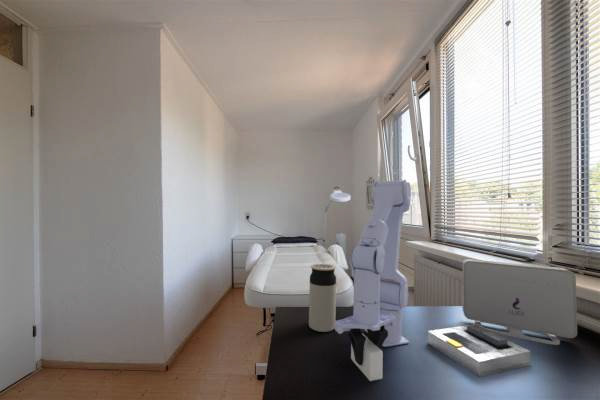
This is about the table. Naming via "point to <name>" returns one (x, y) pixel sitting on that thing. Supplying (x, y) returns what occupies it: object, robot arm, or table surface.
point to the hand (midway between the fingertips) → (365, 361)
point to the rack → (479, 349)
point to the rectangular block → (370, 360)
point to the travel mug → (322, 298)
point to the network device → (521, 298)
